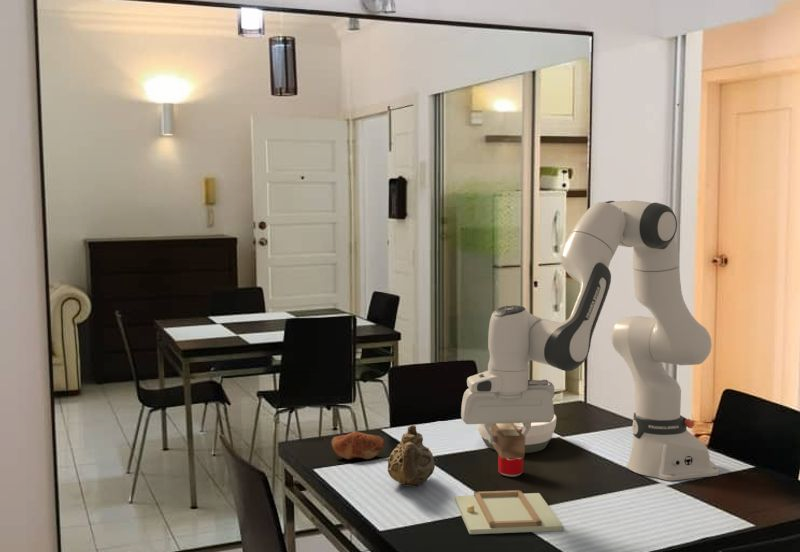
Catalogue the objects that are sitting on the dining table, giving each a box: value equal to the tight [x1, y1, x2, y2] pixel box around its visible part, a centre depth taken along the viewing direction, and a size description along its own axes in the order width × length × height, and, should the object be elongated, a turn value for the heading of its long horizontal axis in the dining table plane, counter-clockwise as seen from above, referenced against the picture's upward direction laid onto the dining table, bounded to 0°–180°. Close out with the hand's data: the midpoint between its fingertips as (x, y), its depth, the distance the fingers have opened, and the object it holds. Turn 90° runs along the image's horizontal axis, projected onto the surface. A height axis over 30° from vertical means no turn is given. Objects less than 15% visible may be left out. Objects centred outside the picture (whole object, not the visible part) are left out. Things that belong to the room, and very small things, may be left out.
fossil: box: [330, 430, 385, 460], centre depth 237 cm, size 13×8×10 cm
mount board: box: [454, 489, 564, 535], centre depth 196 cm, size 20×20×2 cm
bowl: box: [476, 413, 557, 454], centre depth 248 cm, size 22×22×8 cm
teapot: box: [387, 424, 436, 488], centre depth 214 cm, size 21×12×15 cm, turn 178°
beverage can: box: [497, 425, 524, 478], centre depth 223 cm, size 6×6×12 cm
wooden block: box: [491, 423, 526, 459], centre depth 194 cm, size 5×12×5 cm, turn 6°
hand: (507, 442), depth 194 cm, fingers closed on wooden block, 5 cm apart
